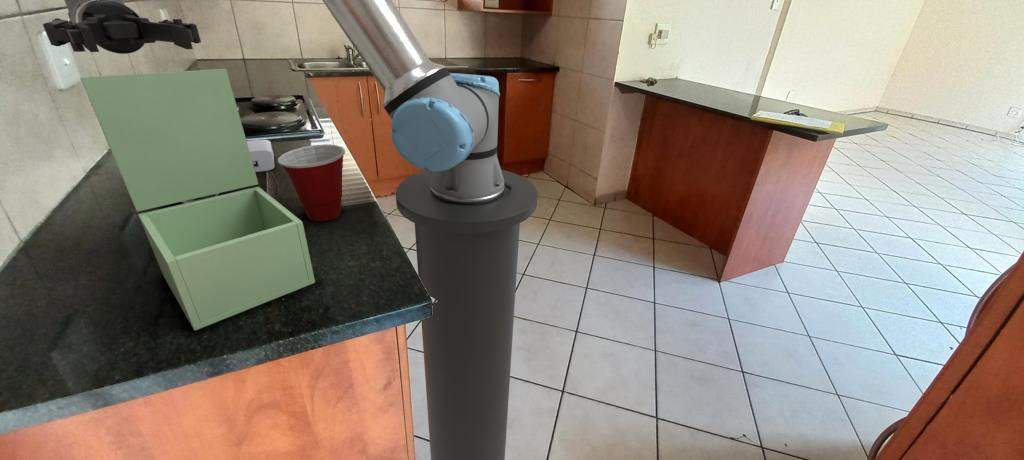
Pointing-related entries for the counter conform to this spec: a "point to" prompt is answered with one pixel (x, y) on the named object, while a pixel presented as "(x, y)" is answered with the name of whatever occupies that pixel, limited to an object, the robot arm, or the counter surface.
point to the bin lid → (173, 134)
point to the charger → (261, 155)
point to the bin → (228, 253)
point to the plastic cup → (316, 178)
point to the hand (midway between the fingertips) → (141, 39)
